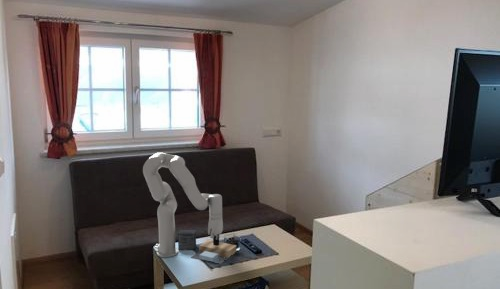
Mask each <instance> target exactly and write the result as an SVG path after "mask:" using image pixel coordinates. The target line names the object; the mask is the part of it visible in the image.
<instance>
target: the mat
mask: <svg viewBox="0 0 500 289" xmlns="http://www.w3.org/2000/svg"><path fill="white" fill-rule="evenodd" d="M201 253H202V252H200V251H199V250H198V251H197V252H196V253H195V254H193V255H192V256H191V257H190V258H191V259H195V260H200V261H203V260H202V259H200V257H199V255H200V254H201ZM219 257H220V258H219ZM218 258H219V264H218V265H222V264H224V263H225V261H224V260H226V261H227V260H228V259H229V258H228V257H225V258H224V257H223V256H218Z"/></svg>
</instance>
